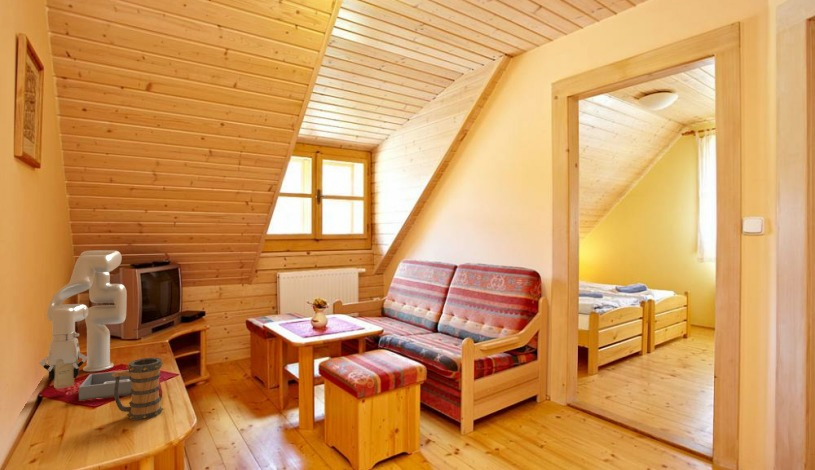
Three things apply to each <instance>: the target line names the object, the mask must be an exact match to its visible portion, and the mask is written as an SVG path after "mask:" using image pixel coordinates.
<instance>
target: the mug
mask: <svg viewBox="0 0 815 470" xmlns="http://www.w3.org/2000/svg"><path fill="white" fill-rule="evenodd" d="M164 364H165V362H164V361H162V358H159V357H144V358H140V359H134V360H133V361H130V362H129V363H128V365H127V366H126V367H125V369H127V370H129V371H124V370H116V371H117V372H115V371H114V372H115V373H113V374H112V376H113V377H116V382H115V389H114V401H115V404H116V406H117V408H118V409H119V411H121V412H124V413H125V412H126V413H127V414H125V416H126V417H128V419H129V420H131V419H132V421H145V420H149V419H152V418H156V417H157V416H159V415H160V414H161V413H162V411H163V410H165V408H163V407H162V406H161V403H160V402H161V400H162V398H160V397H159V389H160V388H159V386H160V385H159V382H160V377H161V376H162V373H161V368H162V366H163V365H164ZM120 376H131V377H130V378H129V380H131V382H132V389H131V392H130V393H131V394H132V395H131V400H130V401H129V403H128V404H129V406H125V405H123V404H122V402H121V400H120V397H119V396H118V387H119V380H120Z"/></svg>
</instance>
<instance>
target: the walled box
mask: <svg viewBox="0 0 815 470" xmlns="http://www.w3.org/2000/svg"><path fill="white" fill-rule="evenodd" d="M117 371H118V370H116V371H108V372H107V371H105V372H97V373H90V374H89V375H88V376H87V377H86V379H85V380H84V381H83V382H82V383H81V384H79V386H78V402H79V401H82V400H88V399H96V398H106V399H108V398H107V397H114V389H115V382H116V377H113V376H112V374H113V373H115V372H117ZM123 371H129V369H126V370H125V369H124V370H123ZM130 377H131V376H120V380H119V387H118V396H122V397H127V396H129V397H130V396H132V394H131V393H130V392H131V389H132V382H131V380H129V378H130ZM114 398H115V397H114Z"/></svg>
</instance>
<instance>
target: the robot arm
mask: <svg viewBox="0 0 815 470" xmlns="http://www.w3.org/2000/svg"><path fill="white" fill-rule="evenodd" d="M122 257H123V256H122V254H121V252H120V251H118V250H113V249H111V250H105V249H104V250H101V249H100V250H99V249H98V250H96V249H95V250H93V249H92V250H84V251H83V252H80V255H79V257H78V258H77V259H76V261H75V264H74V266H73V267H74V268H73V270H72V274H71V275H70V276H71V277H70V280H69V282H68V283H67V284H64V285H63V286H62V287H61V288H59V290H58V291H57V292H55V293H54V294H53V295H52V297H51V299H50V302H49V304H48V308H47V311H46V317H47V319H48V321H49V322H52V327H51V328H52V340H51V341H50V343H49V348H48V354H47V356H46V357H45V358H44V359H42V360H41V361H40V362H39V365H40V366H41V367H43V368H44V369H45V370H47V372H48V378H49V379H50V382H52V381H54V365H56V360H62V359H63V361H64V363H65V364H71V363H72V364H73V366H74V379H77V377H78V376H79V375H80V367H81V366H82V365H83V364H84V363H85V362H86V365H85V366H83V367H82V371H83V372H86V373H87V372H89V373H90V372H91V373H93V372H100V371H106V370H109V369H111V368H113V367H114V363H113V362H111V351H110V350H111V331H110V330H109V328H108V327H107V325H118V324H122V323H125V320H126V319H127V307H128V306H127V302H128V301H127V298H128V295H127V293H128V292H127V288H126V287H125V285H124V284H122V283H111V282H110V280H111V277H110V276H111V275H110V272H113V271H114V270H115V269H117V268H118V267H119V266H120V265H121V263H122V259H123V258H122ZM86 291H88V297H89V301H90V303H94V304H104V303H105V304H107V303H113V304H114V305H113V304H112V305H111V304H110V305H93V306H90V307H88V306H87V305H86V304H83V303H70V304H67V303H66V304H63V302H65V301H66V300H67V299H68V298H70V297H71V298H72V297H73V296H76V295H78V294H80V293H83V292H86ZM83 320H84V321H85V325H86V355H85V354H83V353H81V351H80V344H79V343H80V342H79V339H78V338H77V337H80V333H79V332H78V333H77V332H76V322H81V321H83ZM80 359H82V360H80ZM79 360H80V362H79ZM47 362H48V363H47Z"/></svg>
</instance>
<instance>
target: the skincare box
mask: <svg viewBox="0 0 815 470" xmlns="http://www.w3.org/2000/svg"><path fill="white" fill-rule="evenodd" d="M74 368H75V367H74V366H73V364H72V363H71V364H65V363H64V361H63V359H62V360H56V365H54V380H53V387H54V388H55V389H63V388H67V387H72V386H75V378H74Z"/></svg>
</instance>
